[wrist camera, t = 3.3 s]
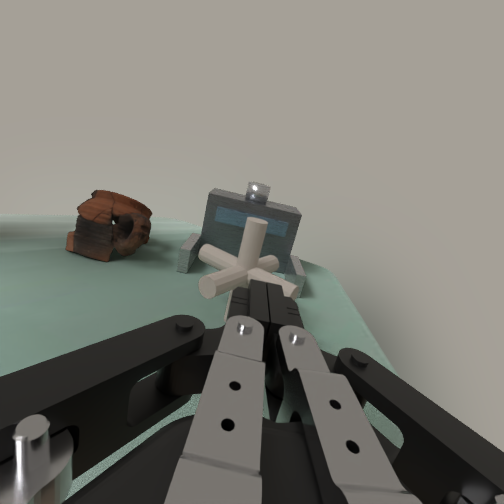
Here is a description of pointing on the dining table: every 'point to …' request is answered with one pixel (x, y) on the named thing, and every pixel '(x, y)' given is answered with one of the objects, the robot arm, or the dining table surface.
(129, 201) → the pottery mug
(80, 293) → the dining table surface
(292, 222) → the grey boxy knob-topped device
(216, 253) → the pipe connector
